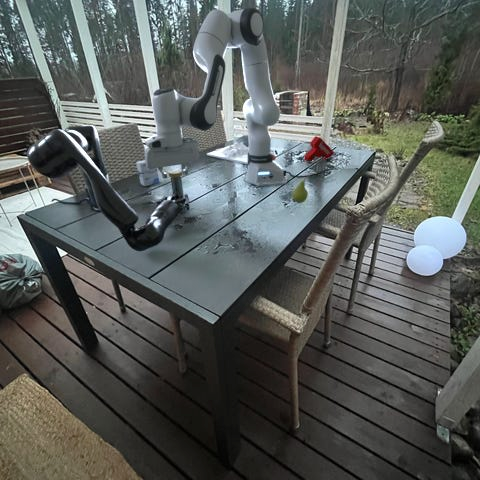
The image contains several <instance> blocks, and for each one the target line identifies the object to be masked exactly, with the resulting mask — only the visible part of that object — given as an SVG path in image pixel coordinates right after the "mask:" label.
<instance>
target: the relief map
mask: <svg viewBox="0 0 480 480" xmlns="http://www.w3.org/2000/svg"><path fill="white" fill-rule="evenodd" d="M248 152H249V146H246V145H245V144H244V143H243V142H242V141H240V142H238V141H236V142H234V144H230V145H228V146H225V147H221V148H216V149H215V150H213V151H211V152H207V153H206V156H208V157H213V158H218V159H221V160H226V161H231V162H235V163H238V164H239V163H240V164H245V165H248V163H247V155H248ZM270 153H272V152H271V151H270Z"/></svg>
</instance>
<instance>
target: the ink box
mask: <svg viewBox="0 0 480 480" xmlns="http://www.w3.org/2000/svg"><path fill="white" fill-rule="evenodd" d="M135 165H136V168H137V173H138V178H139V182H140V185H141V186H144V187H149V186H152V185H155V184H158V183H160V177H159V172H158V171H159V170H158V168H155V169H149V168H148V167H147V166H146V163H145V159H144V160H139V161H136V162H135Z"/></svg>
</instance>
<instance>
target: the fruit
mask: <svg viewBox="0 0 480 480" xmlns="http://www.w3.org/2000/svg"><path fill="white" fill-rule="evenodd" d="M308 175H309V176H308V177H305V179H302V180H301V181H300V182H298V184H297V185H296V186H295V187H294V188H293V190H292V191H291V198H292V200H293V201H294V202H295V203H297V204H301V203H304V202H305V201H306V200H307V198H308V196H309V195H308V190H307V189H306V184H305V183H306V180H308V179H309V178H310V177H311V176H310V175H311V174H308Z"/></svg>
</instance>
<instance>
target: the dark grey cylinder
mask: <svg viewBox="0 0 480 480" xmlns="http://www.w3.org/2000/svg"><path fill="white" fill-rule="evenodd" d="M169 178H170V184H171V191H172V194H173V198H174V200H177V199H179V198H182V197H183V196H184V195H185V193H184V185H183V180H182V176H180V177H176V178H173V177H169ZM186 211H187V209H186V208H183V209H182V210H180V211H179V214H178V215H183V214H185V213H186Z"/></svg>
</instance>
